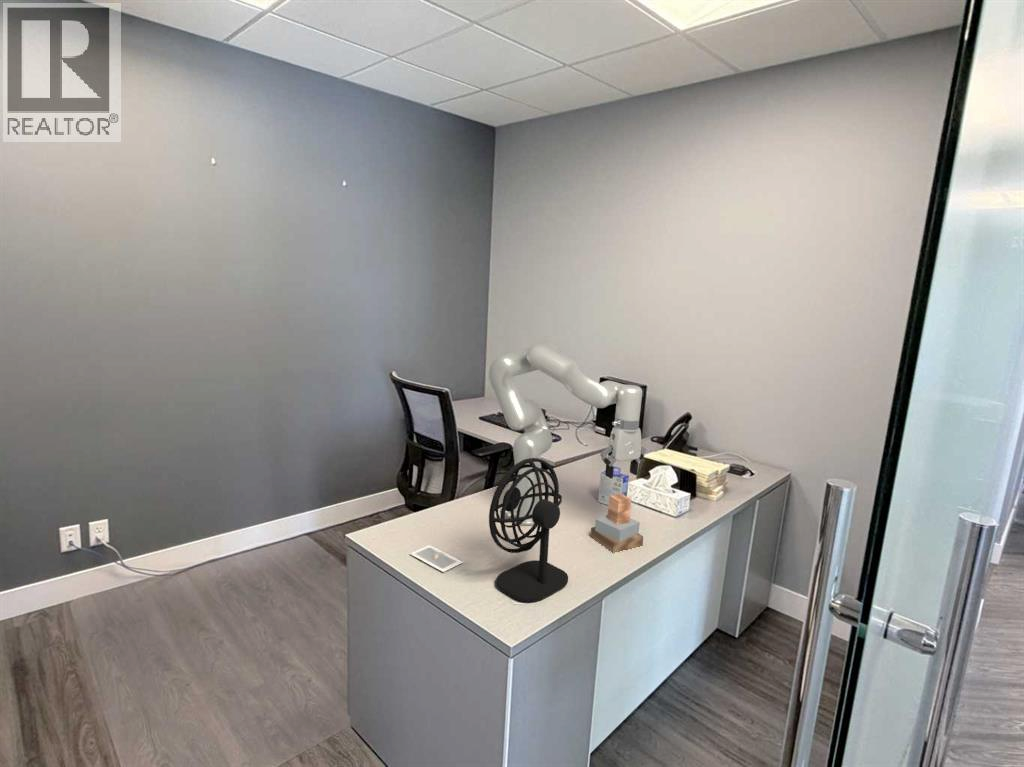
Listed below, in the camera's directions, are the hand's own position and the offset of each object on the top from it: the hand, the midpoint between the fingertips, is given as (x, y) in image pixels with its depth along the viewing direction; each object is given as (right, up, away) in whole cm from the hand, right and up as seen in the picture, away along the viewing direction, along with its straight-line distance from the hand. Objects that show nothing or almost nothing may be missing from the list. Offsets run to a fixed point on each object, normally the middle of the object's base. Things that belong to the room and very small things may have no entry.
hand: (621, 475), depth 173 cm
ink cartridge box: (+4, -17, +35) cm, 40 cm away
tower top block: (-1, -19, +3) cm, 19 cm away
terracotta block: (0, -15, +2) cm, 15 cm away
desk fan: (-30, -26, -22) cm, 46 cm away
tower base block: (-1, -23, +4) cm, 23 cm away
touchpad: (-58, -24, -13) cm, 64 cm away
